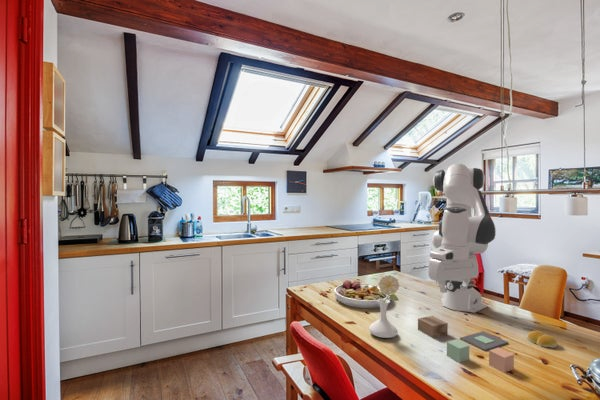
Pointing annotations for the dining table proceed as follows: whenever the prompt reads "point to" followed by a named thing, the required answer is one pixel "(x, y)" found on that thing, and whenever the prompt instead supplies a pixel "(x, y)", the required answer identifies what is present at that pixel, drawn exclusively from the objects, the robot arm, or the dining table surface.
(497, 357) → the terracotta block
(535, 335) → the bread roll
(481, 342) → the card
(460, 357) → the green block
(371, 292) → the bowl
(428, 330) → the walnut base block
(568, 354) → the dining table surface
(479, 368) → the dining table surface
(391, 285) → the flower in vase
